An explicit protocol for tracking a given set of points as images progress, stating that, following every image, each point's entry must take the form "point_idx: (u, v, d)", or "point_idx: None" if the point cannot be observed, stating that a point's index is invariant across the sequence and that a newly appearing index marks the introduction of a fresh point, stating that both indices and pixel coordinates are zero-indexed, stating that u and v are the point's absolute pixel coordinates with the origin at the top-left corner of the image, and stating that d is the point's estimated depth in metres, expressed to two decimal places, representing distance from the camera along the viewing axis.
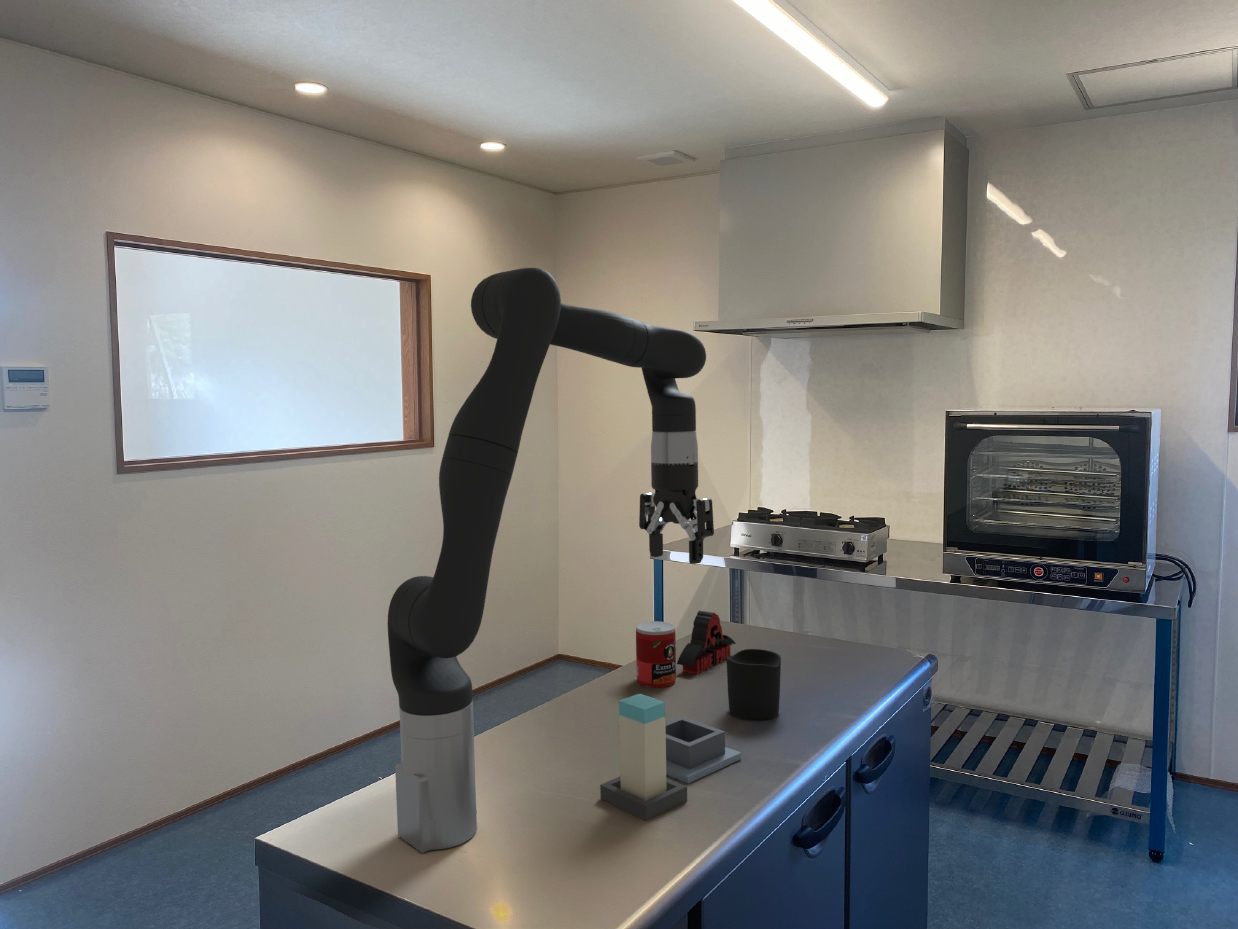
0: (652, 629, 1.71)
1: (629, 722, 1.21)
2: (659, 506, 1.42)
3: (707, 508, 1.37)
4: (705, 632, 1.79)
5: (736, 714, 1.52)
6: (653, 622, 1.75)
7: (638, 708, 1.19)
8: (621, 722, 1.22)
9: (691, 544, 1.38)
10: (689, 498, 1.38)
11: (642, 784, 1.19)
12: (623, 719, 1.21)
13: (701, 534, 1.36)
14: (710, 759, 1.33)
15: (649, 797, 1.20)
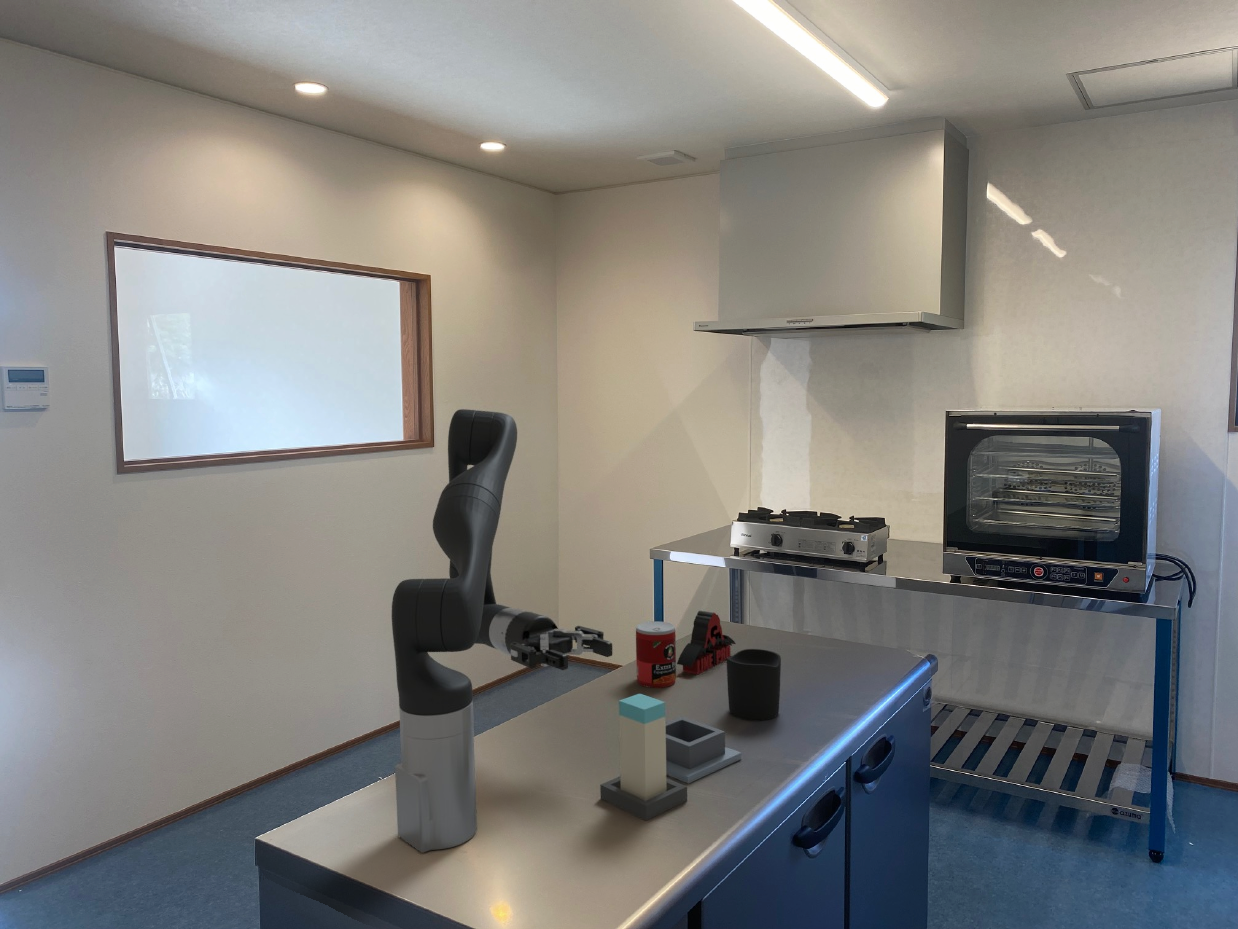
0: (652, 629, 1.71)
1: (629, 722, 1.21)
2: (543, 633, 1.34)
3: None
4: (705, 632, 1.79)
5: (736, 714, 1.52)
6: (653, 622, 1.75)
7: (638, 708, 1.19)
8: (621, 722, 1.22)
9: (597, 638, 1.34)
10: None
11: (643, 784, 1.19)
12: (623, 719, 1.21)
13: (600, 631, 1.37)
14: (710, 759, 1.33)
15: (649, 797, 1.20)
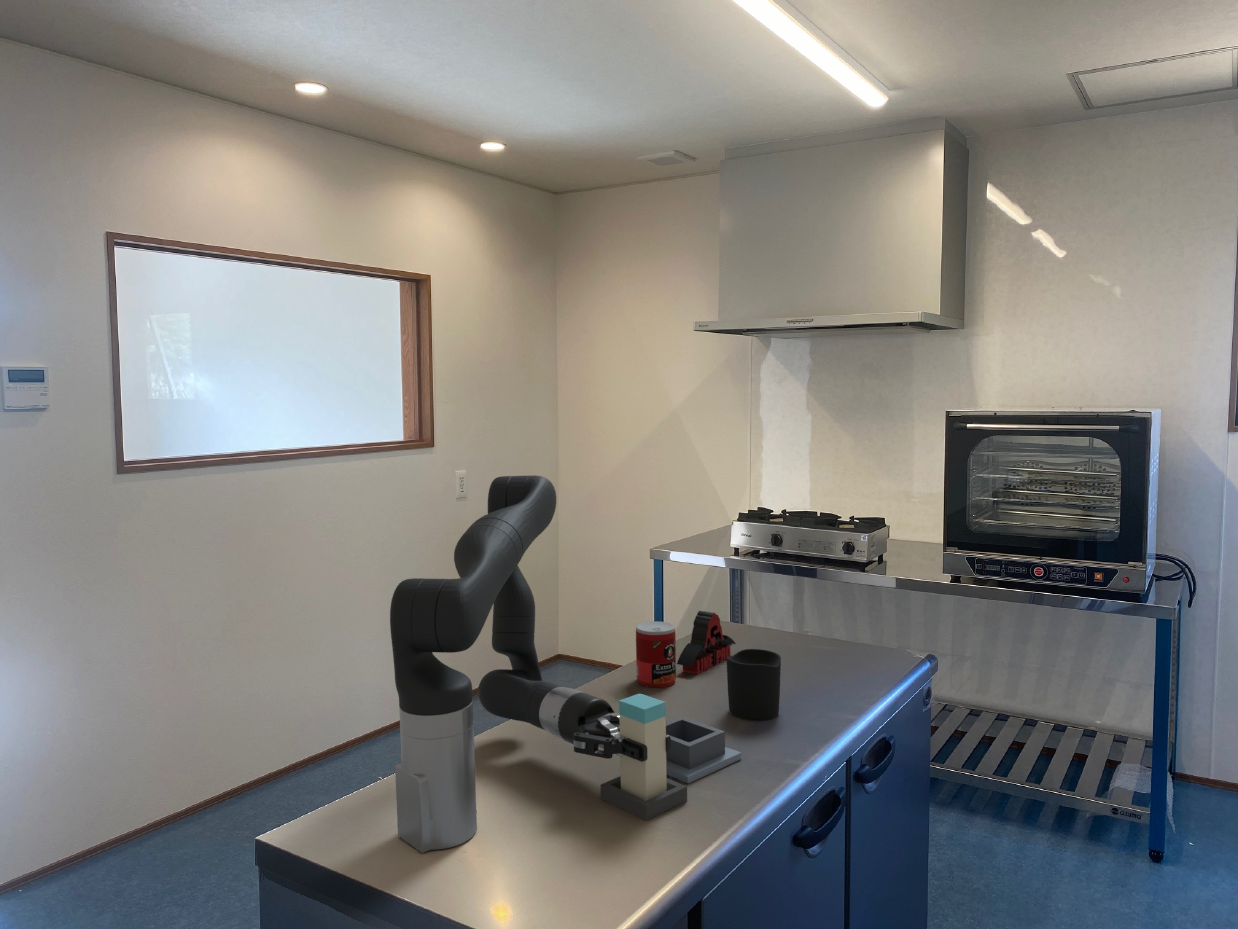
0: (652, 629, 1.71)
1: (629, 722, 1.21)
2: (601, 719, 1.26)
3: None
4: (705, 632, 1.79)
5: (736, 714, 1.52)
6: (653, 622, 1.75)
7: (638, 708, 1.19)
8: (621, 722, 1.22)
9: None
10: None
11: (643, 784, 1.20)
12: (623, 719, 1.21)
13: None
14: (710, 759, 1.33)
15: (649, 797, 1.20)
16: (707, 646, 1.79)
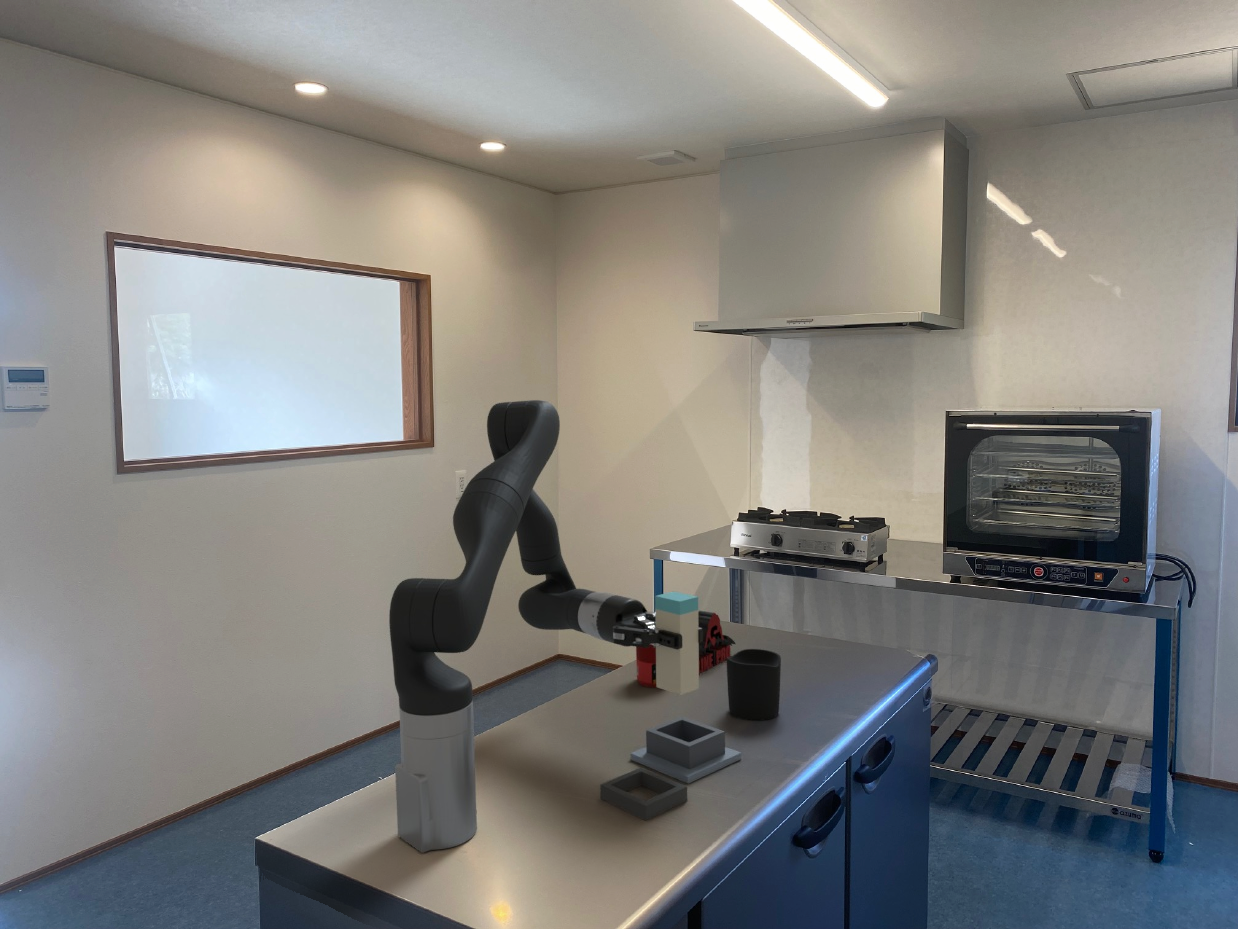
0: None
1: (665, 615, 1.31)
2: (637, 616, 1.36)
3: None
4: (705, 632, 1.79)
5: (736, 714, 1.52)
6: None
7: (674, 601, 1.29)
8: (657, 616, 1.32)
9: None
10: None
11: (677, 671, 1.30)
12: (659, 613, 1.32)
13: None
14: (710, 759, 1.33)
15: (683, 683, 1.30)
16: (707, 646, 1.79)
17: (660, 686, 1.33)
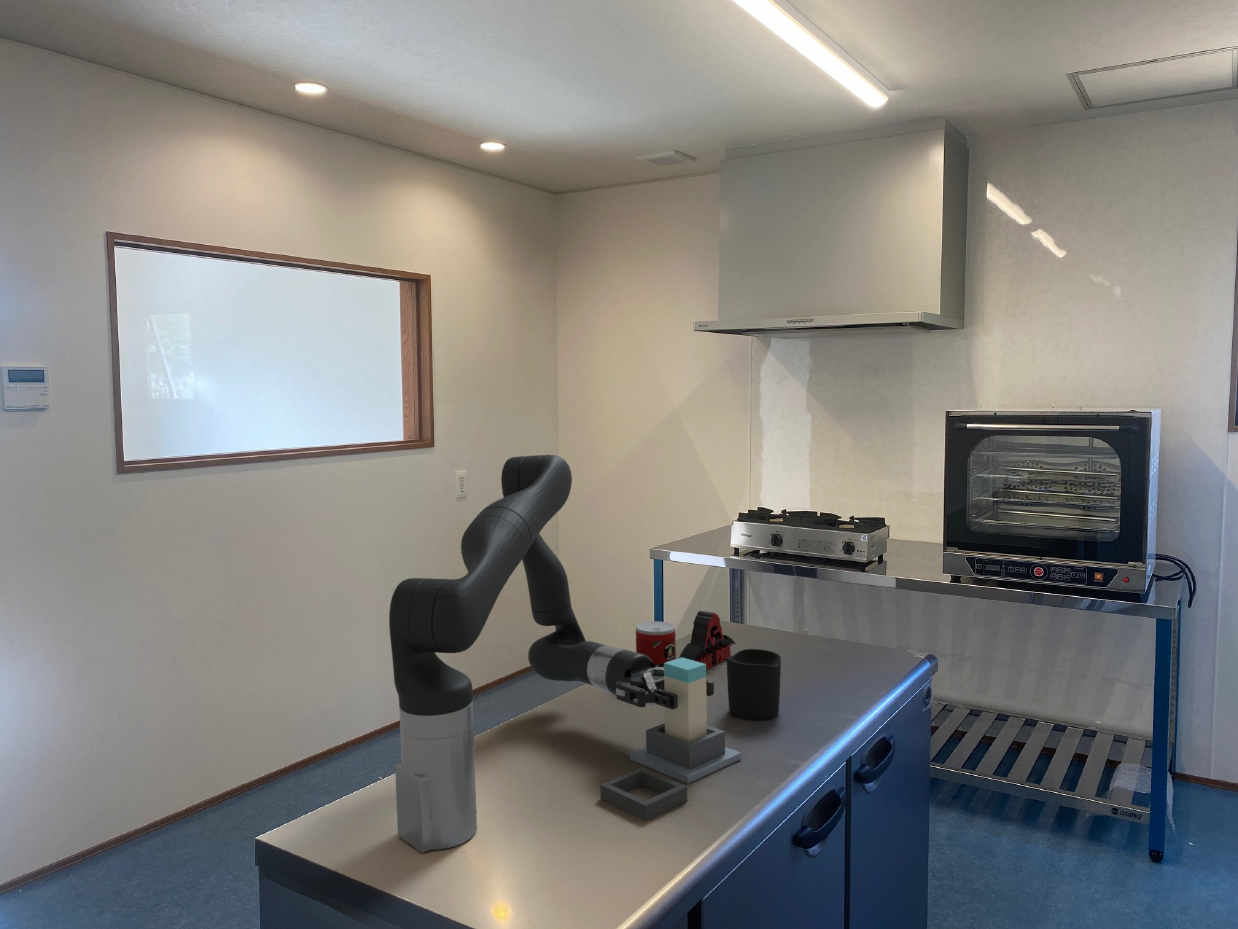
0: (652, 629, 1.71)
1: (674, 682, 1.34)
2: (645, 672, 1.39)
3: None
4: (705, 632, 1.79)
5: (736, 714, 1.52)
6: (653, 622, 1.75)
7: (682, 669, 1.32)
8: (666, 682, 1.35)
9: None
10: None
11: (686, 738, 1.33)
12: (668, 680, 1.35)
13: None
14: (710, 759, 1.33)
15: None
16: (707, 646, 1.79)
17: None
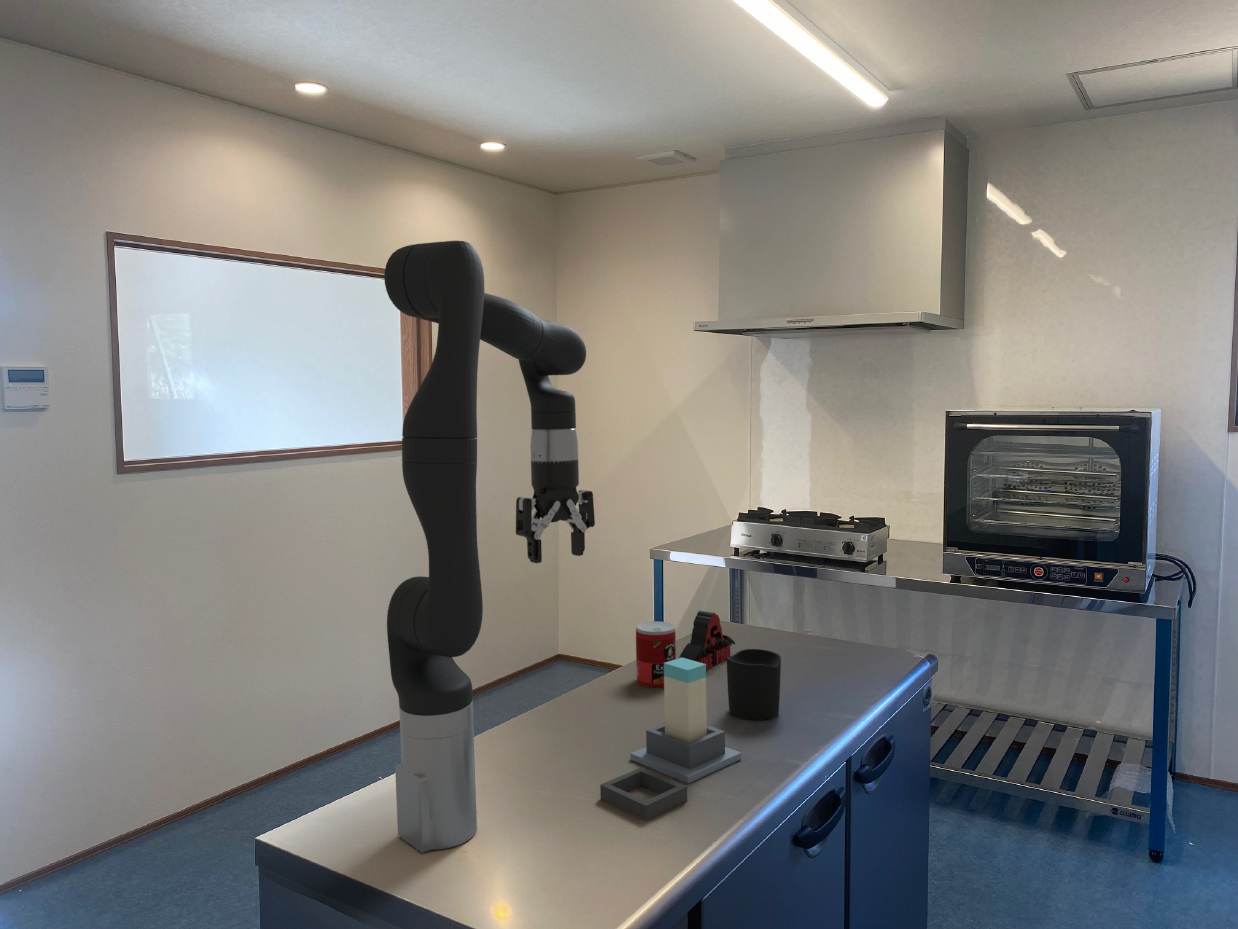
0: (652, 629, 1.71)
1: (673, 682, 1.34)
2: (555, 505, 1.38)
3: None
4: (705, 632, 1.79)
5: (736, 714, 1.52)
6: (653, 622, 1.75)
7: (682, 669, 1.32)
8: (666, 683, 1.35)
9: (582, 536, 1.43)
10: (577, 492, 1.42)
11: (686, 738, 1.33)
12: (668, 680, 1.35)
13: (593, 523, 1.44)
14: (710, 759, 1.33)
15: None
16: (707, 646, 1.79)
17: None
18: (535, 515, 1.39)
